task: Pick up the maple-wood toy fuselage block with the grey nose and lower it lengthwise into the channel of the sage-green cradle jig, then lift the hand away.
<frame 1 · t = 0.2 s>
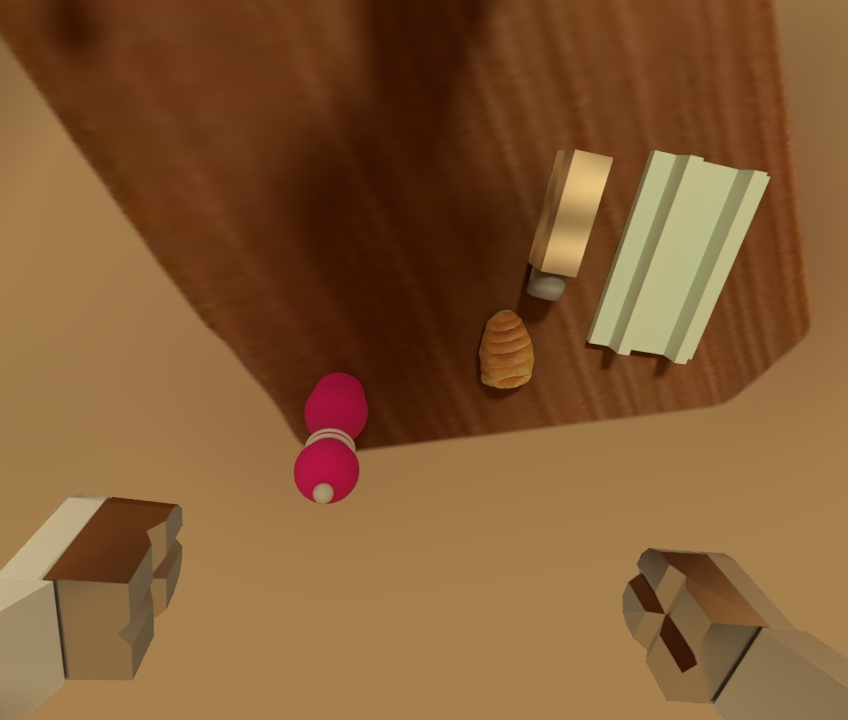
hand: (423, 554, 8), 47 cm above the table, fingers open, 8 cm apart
pastry: (501, 349, 59), on the table
pepper mill: (339, 393, 60), on the table
fuselage: (558, 211, 53), on the table
cradle: (670, 262, 56), on the table
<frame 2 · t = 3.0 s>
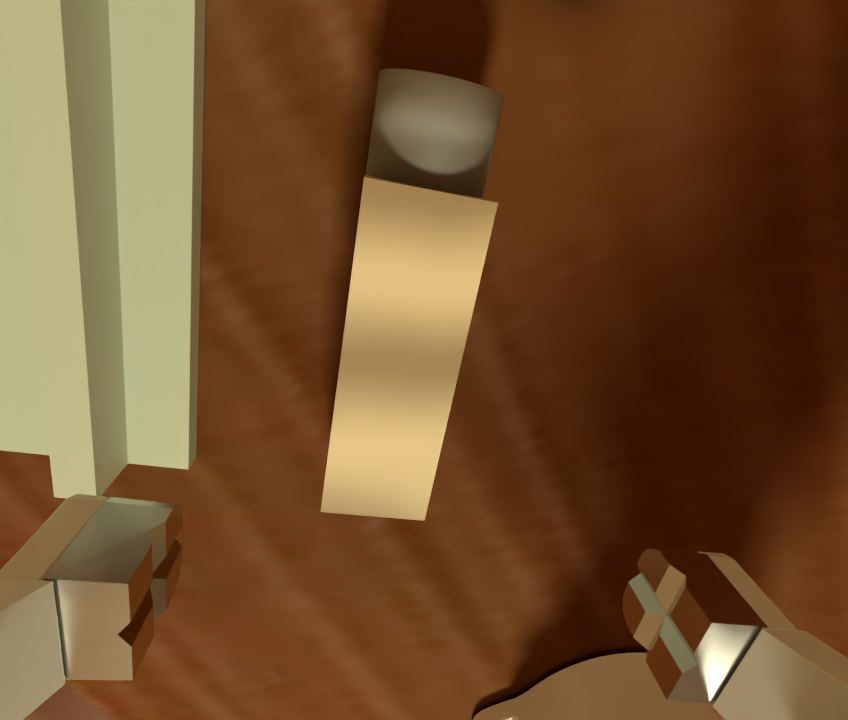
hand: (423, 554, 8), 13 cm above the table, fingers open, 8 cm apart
fuselage: (393, 327, 21), on the table
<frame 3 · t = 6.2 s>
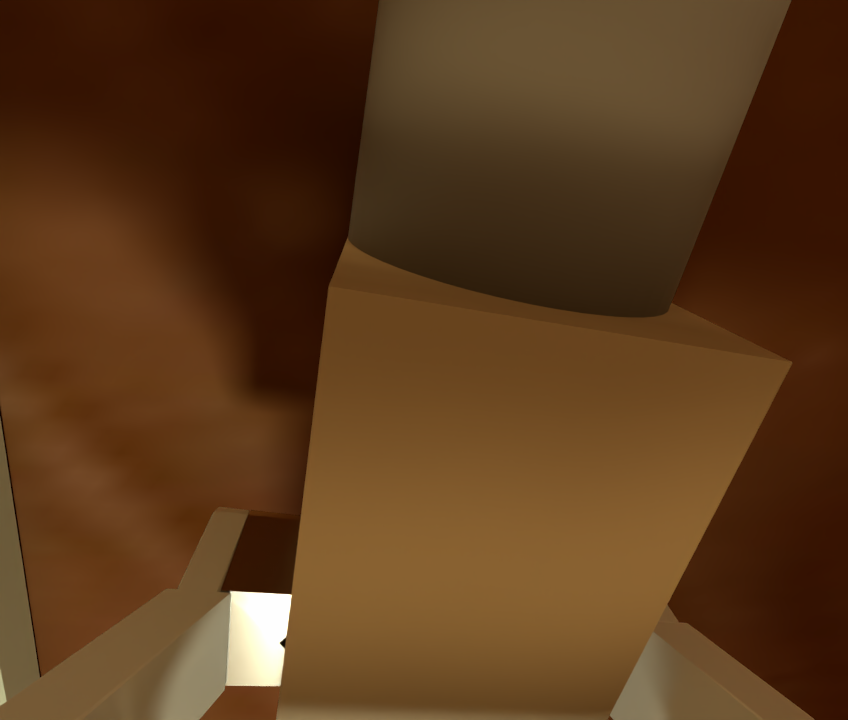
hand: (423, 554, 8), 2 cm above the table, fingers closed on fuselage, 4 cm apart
fuselage: (409, 507, 11), on the table, touching gripper
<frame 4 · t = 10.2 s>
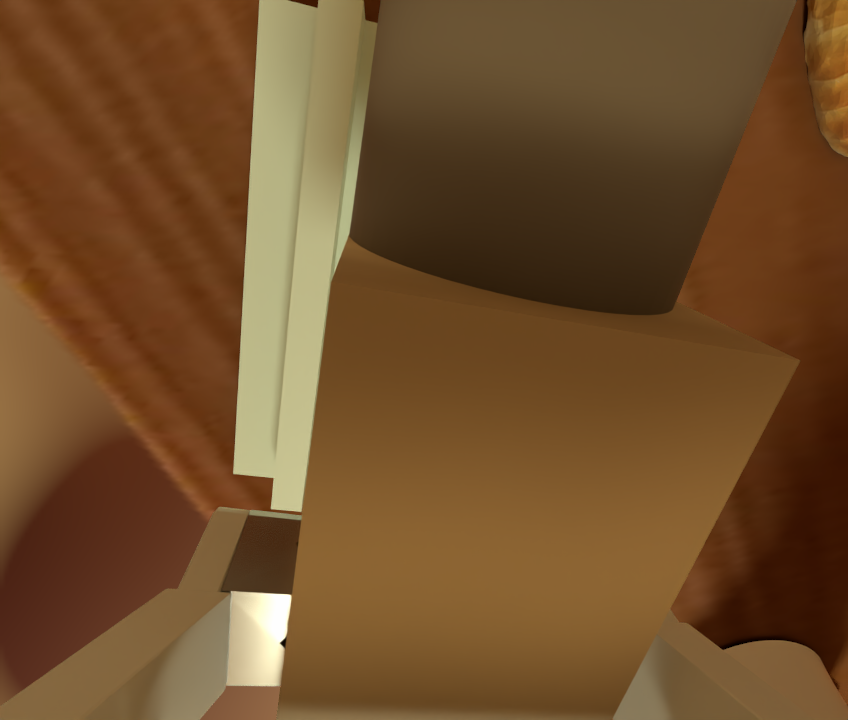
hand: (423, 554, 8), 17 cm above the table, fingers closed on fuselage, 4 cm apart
fuselage: (409, 507, 11), point 15 cm above the table, touching gripper
cradle: (393, 296, 24), on the table
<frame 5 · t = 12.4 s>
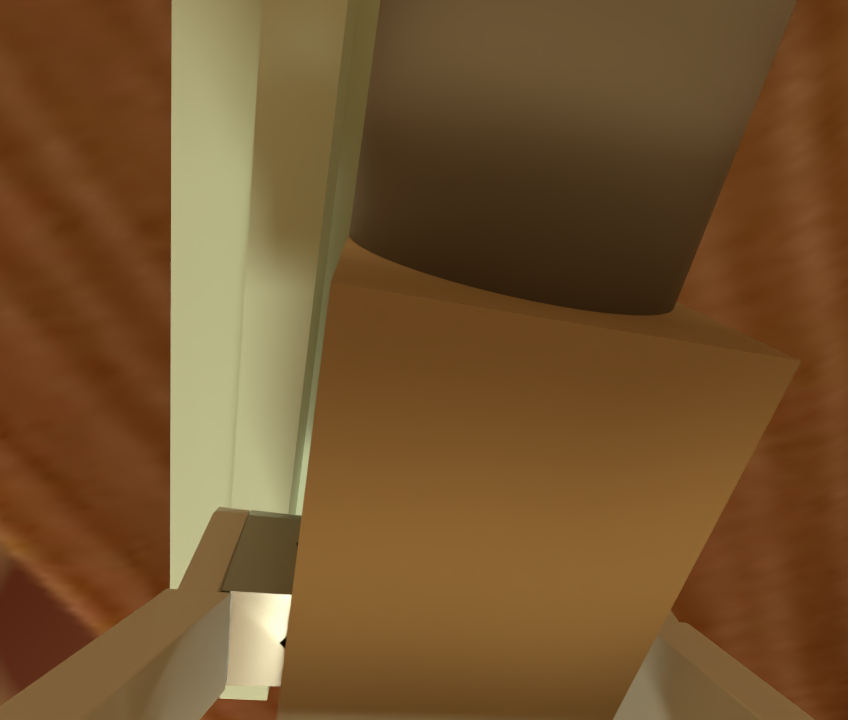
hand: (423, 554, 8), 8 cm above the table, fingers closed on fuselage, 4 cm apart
fuselage: (409, 507, 11), point 6 cm above the table, touching gripper
cradle: (410, 371, 16), on the table
when the fingers open (5 cm above the table, at t = 14.0 s): fuselage drops 1 cm, resting on cradle.
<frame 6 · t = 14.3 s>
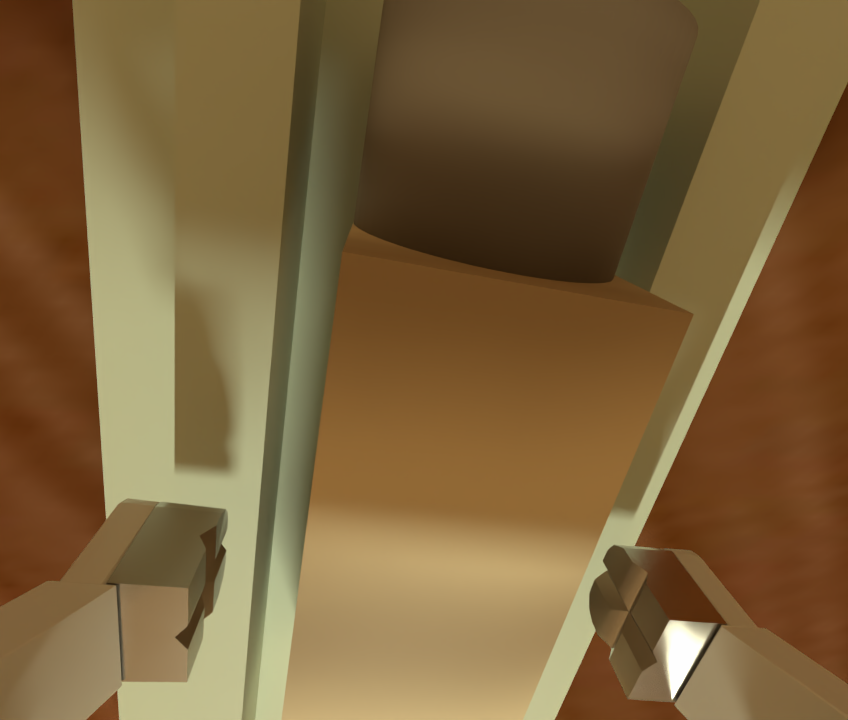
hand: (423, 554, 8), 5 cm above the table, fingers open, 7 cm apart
fuselage: (405, 468, 12), point 1 cm above the table, touching cradle
cradle: (407, 420, 13), on the table
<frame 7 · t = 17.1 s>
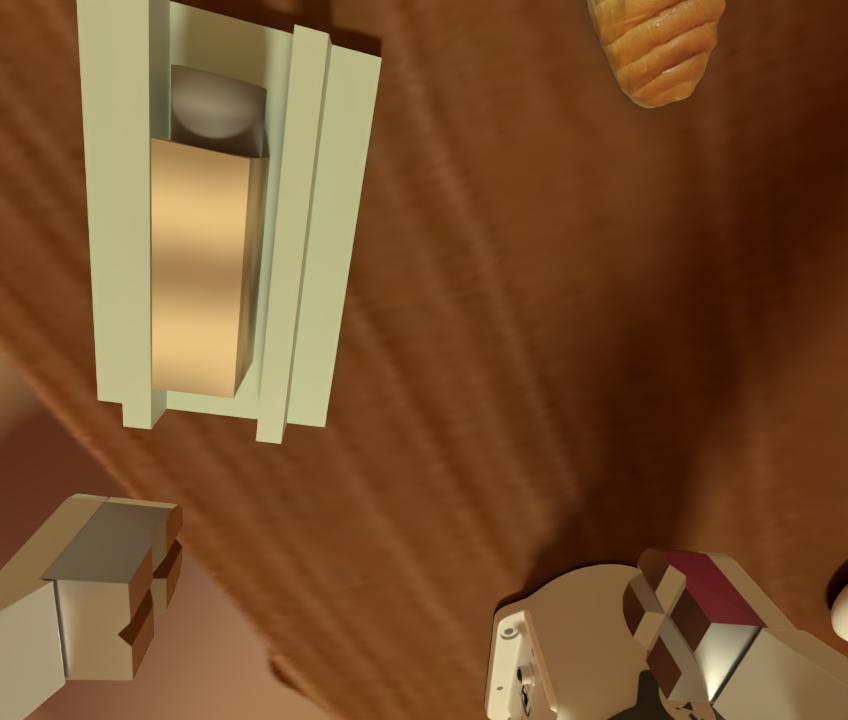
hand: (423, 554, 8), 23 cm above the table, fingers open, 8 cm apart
fuselage: (224, 260, 27), point 1 cm above the table, touching cradle
cradle: (229, 243, 28), on the table
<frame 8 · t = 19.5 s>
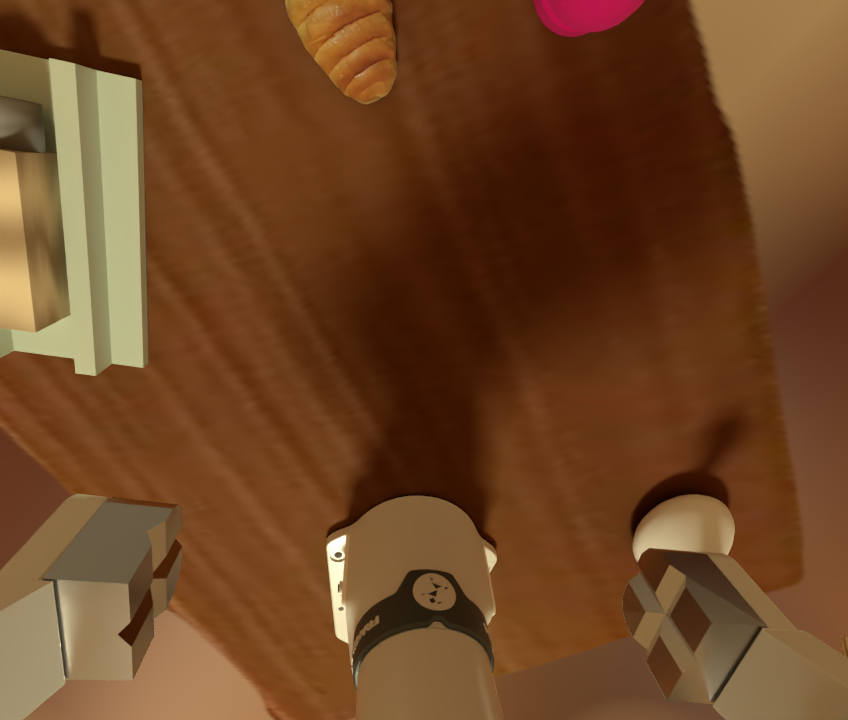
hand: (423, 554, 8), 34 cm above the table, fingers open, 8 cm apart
pastry: (347, 21, 34), on the table
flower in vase: (672, 519, 55), on the table
fuselage: (41, 232, 36), point 1 cm above the table, touching cradle
cradle: (48, 220, 37), on the table
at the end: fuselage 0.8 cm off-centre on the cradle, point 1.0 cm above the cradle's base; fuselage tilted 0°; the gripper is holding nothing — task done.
